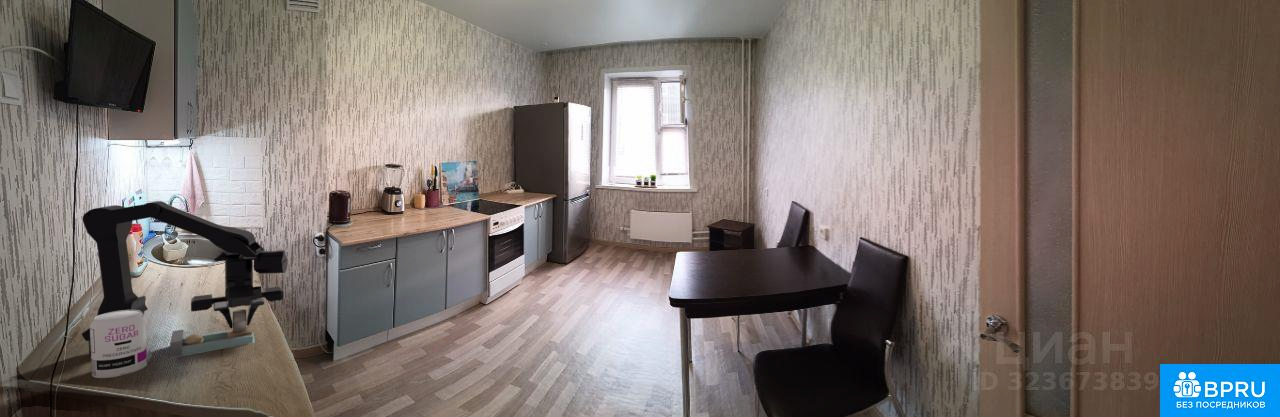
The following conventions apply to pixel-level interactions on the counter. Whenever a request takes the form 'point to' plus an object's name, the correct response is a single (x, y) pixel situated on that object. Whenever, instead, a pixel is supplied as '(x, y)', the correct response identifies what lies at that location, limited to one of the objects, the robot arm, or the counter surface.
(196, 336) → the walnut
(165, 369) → the counter surface
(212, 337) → the board
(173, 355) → the grey angular block
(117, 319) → the supplement can
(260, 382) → the counter surface
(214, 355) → the counter surface
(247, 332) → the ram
